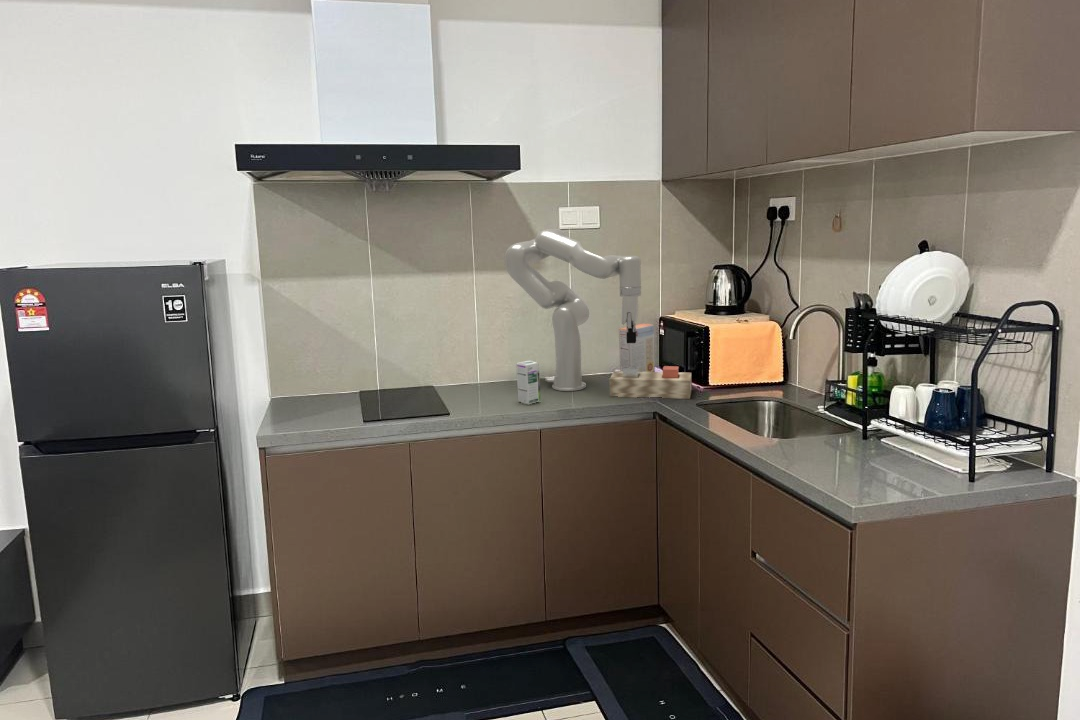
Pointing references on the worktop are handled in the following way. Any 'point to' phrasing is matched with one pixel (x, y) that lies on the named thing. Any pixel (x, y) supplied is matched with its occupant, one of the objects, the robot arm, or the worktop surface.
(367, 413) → the worktop surface
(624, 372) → the grey cube
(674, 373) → the red cube
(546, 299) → the robot arm
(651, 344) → the cracker box
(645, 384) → the beige woven basket
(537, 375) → the syrup box
